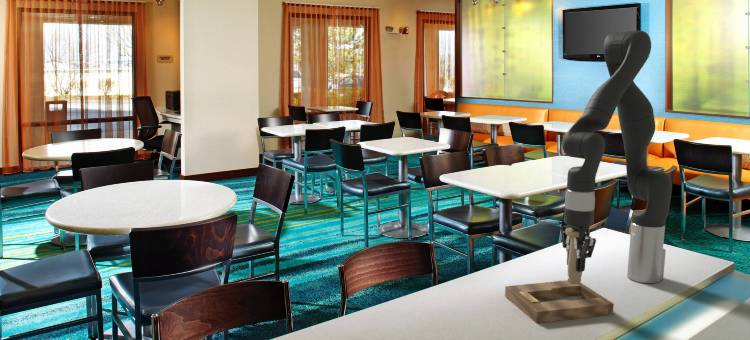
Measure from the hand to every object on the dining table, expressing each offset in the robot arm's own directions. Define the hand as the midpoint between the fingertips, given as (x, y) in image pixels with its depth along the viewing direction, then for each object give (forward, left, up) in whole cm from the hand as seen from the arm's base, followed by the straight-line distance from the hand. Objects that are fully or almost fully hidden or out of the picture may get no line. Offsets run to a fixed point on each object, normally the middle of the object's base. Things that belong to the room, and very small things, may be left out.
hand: (575, 267), depth 165 cm
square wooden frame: (+5, 0, -10) cm, 11 cm away
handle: (0, 0, -4) cm, 4 cm away
